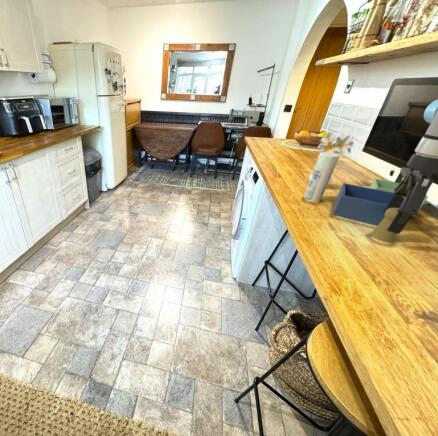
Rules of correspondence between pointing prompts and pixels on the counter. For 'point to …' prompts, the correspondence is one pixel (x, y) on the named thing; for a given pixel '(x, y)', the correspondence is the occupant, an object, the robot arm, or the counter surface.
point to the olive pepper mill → (386, 227)
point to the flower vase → (341, 144)
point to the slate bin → (362, 204)
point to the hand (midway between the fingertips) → (390, 222)
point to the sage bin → (392, 184)
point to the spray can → (321, 176)
